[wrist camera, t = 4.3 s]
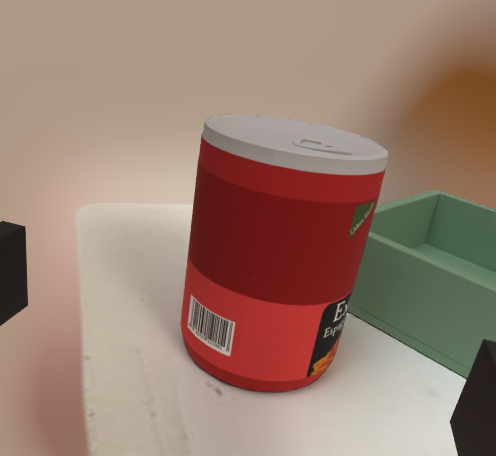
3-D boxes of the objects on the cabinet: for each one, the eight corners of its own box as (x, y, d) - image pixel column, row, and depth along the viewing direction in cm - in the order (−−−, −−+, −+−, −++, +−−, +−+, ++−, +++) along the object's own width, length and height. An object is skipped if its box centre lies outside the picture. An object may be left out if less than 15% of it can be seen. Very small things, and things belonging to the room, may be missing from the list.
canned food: (344, 408, 21) (414, 170, 17) (164, 384, 20) (190, 135, 16) (322, 314, 28) (368, 130, 24) (189, 295, 27) (211, 106, 23)
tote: (311, 291, 30) (328, 218, 28) (417, 243, 41) (434, 189, 39) (588, 448, 21) (642, 354, 19) (630, 332, 32) (666, 265, 30)
